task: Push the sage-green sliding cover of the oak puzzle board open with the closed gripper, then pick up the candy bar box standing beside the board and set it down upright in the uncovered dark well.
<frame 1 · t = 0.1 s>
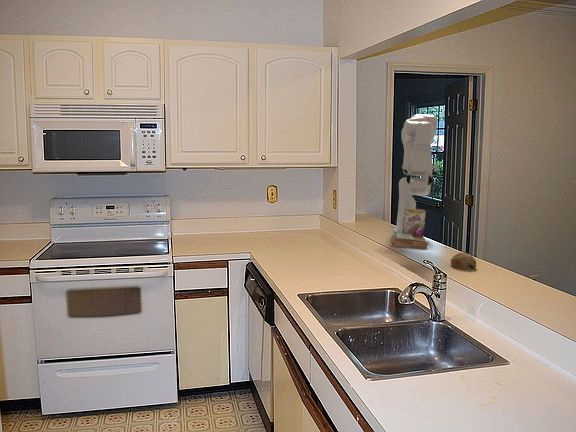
hand: (418, 184, 261), 31 cm above the worktop, tool pointing down, fingers open, 9 cm apart
candy bar box: (411, 240, 288), on the worktop
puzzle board: (408, 244, 274), on the worktop
bread roll: (462, 267, 229), on the worktop
lid: (403, 233, 274), point 5 cm above the worktop, slide at 0.0 cm
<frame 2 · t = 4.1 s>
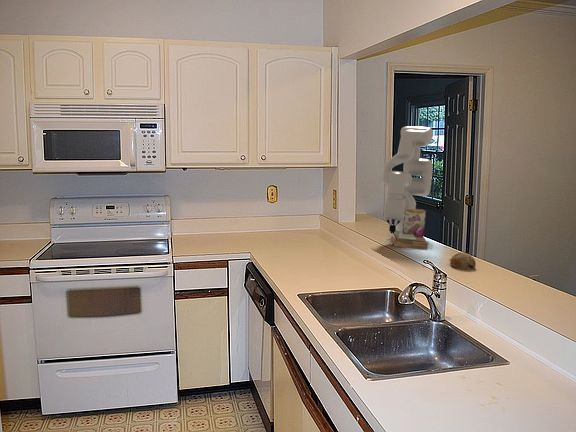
hand: (392, 232, 274), 5 cm above the worktop, tool pointing down, fingers closed
lid: (405, 234, 274), point 5 cm above the worktop, slide at 1.0 cm, touching gripper
everything else where it was.
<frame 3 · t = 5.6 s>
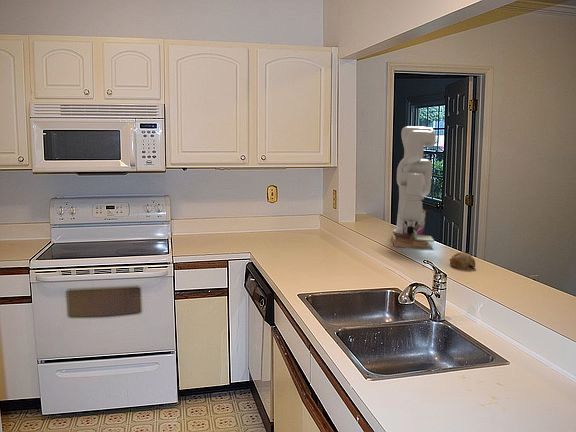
hand: (409, 234, 273), 5 cm above the worktop, tool pointing down, fingers closed
lid: (422, 235, 273), point 5 cm above the worktop, slide at 9.8 cm, touching gripper
everything else where it was.
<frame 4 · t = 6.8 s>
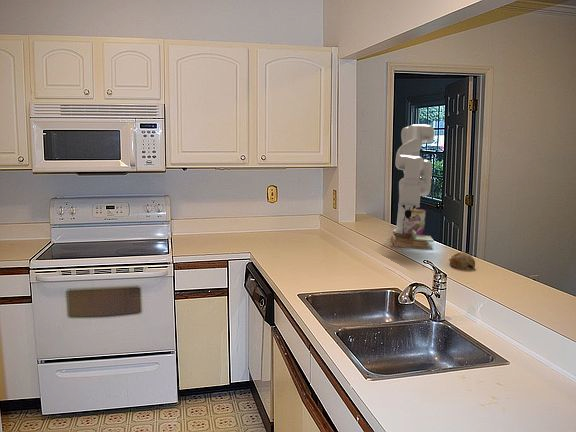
hand: (407, 218, 273), 13 cm above the worktop, tool pointing down, fingers closed
lid: (422, 235, 273), point 5 cm above the worktop, slide at 9.5 cm
everything else where it was.
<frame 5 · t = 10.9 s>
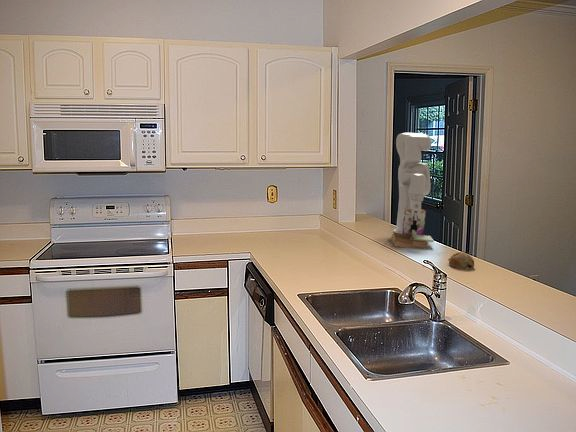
hand: (412, 231, 287), 5 cm above the worktop, tool pointing down, fingers closed on candy bar box, 5 cm apart
candy bar box: (411, 240, 288), on the worktop, touching gripper
everything else where it was.
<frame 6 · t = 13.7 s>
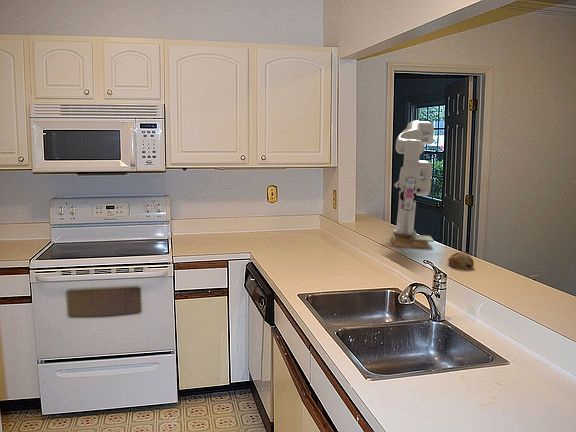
hand: (407, 200, 273), 22 cm above the worktop, tool pointing down, fingers closed on candy bar box, 5 cm apart
candy bar box: (406, 210, 273), point 17 cm above the worktop, touching gripper
when the fingers open (7 cm above the worktop, at t = 16.9 s): candy bar box drops 1 cm, resting on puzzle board.
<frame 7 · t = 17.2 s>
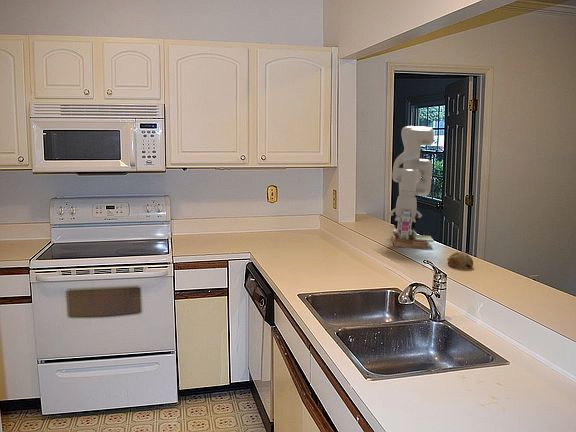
hand: (404, 228, 273), 8 cm above the worktop, tool pointing down, fingers open, 7 cm apart
candy bar box: (403, 241, 275), point 1 cm above the worktop, touching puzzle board
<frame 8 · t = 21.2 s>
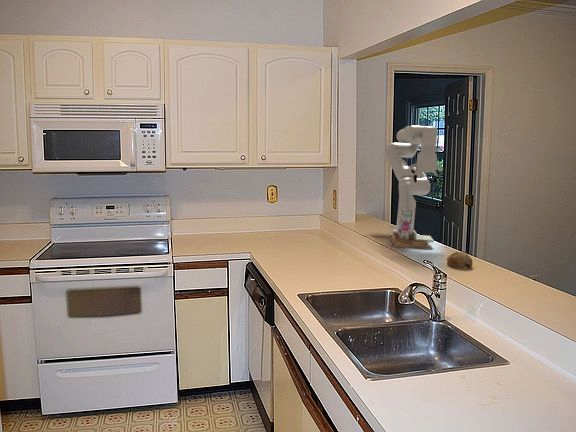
hand: (424, 183, 286), 30 cm above the worktop, tool pointing down, fingers open, 9 cm apart
at the end: lid slide at 9.5 cm; candy bar box inside the target area on the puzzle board (0.6 cm from its centre), point 0.9 cm above the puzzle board's base; candy bar box tilted 0° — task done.
